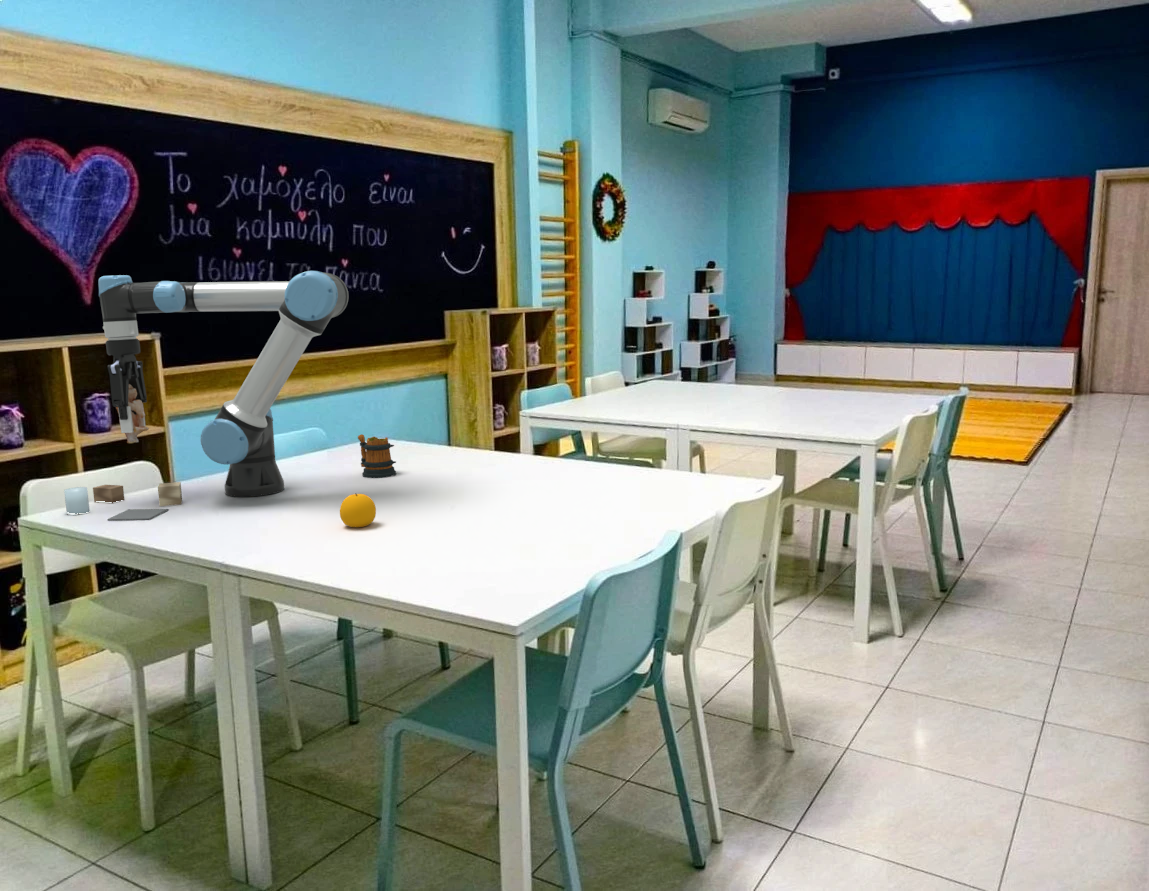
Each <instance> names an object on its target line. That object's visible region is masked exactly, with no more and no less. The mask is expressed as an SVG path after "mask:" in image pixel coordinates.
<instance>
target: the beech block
mask: <svg viewBox="0 0 1149 891" xmlns="http://www.w3.org/2000/svg"><path fill="white" fill-rule="evenodd" d="M182 494H183V492H182V482H181V481H175V482H163V483H158V486H157V495H158V503H159V507H166V506H169V507H170V506H178V505H182V503H183V495H182Z"/></svg>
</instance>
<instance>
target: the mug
mask: <svg viewBox="0 0 1149 891" xmlns="http://www.w3.org/2000/svg"><path fill="white" fill-rule="evenodd" d="M357 440H358V441H359V446H360V454H361V460H360V461H361V462H360V466H361V468H363V472H362V473H361V474H362V477H363V478H365V479H385V478H390V477H394V476H396V475H397V471H396V470H395V466H393V465H394V464H396V463H397V460H396V461H394V460H393V459H392V457H391V450H390V449H391V448H393V447H394V446H395V445H394V444H391V443H390V442H389V437H385V438H378V437H376V436H372V437H368V438H367V439H366V438H365V435H364V434H359V435H358V436H357Z"/></svg>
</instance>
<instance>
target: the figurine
mask: <svg viewBox="0 0 1149 891" xmlns="http://www.w3.org/2000/svg"><path fill="white" fill-rule="evenodd" d="M136 396H137V392H136V389H135V388H133V387H132V386H131V385H130V384H129V389H128V406H130V407H131V415H132V423H133V431H134V432H132V433H124V435H125V437H126V440H127V441H126V444H134V443H139V442H140V441H139V438H138V437H137V436H138V435H140V434H141V433H143V432H146V431H149V429H150V428H149V427H148V426H146V427H145V426H144V421H143V419H142V418H144V417H145V418H146V414H145V413H146V412H145V408H144V403H143V404H142V401H141V400H135V398H136ZM115 409H116V411H117V414H118V415H119V411H118V407H115ZM118 421H119V423H120V419H119V420H118Z"/></svg>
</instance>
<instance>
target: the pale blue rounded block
mask: <svg viewBox="0 0 1149 891" xmlns="http://www.w3.org/2000/svg"><path fill="white" fill-rule="evenodd" d="M63 490H64V491H63V492H64V502H65V509H66V513H67V512H69V513H75V514H77V513H78V514H79V513H86V512H89V511H90V503H89V502H90V501H89V493H88V487H86V486H76V487H70V488H66V489H63ZM89 513H90V512H89ZM86 514H87V513H86Z"/></svg>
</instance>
